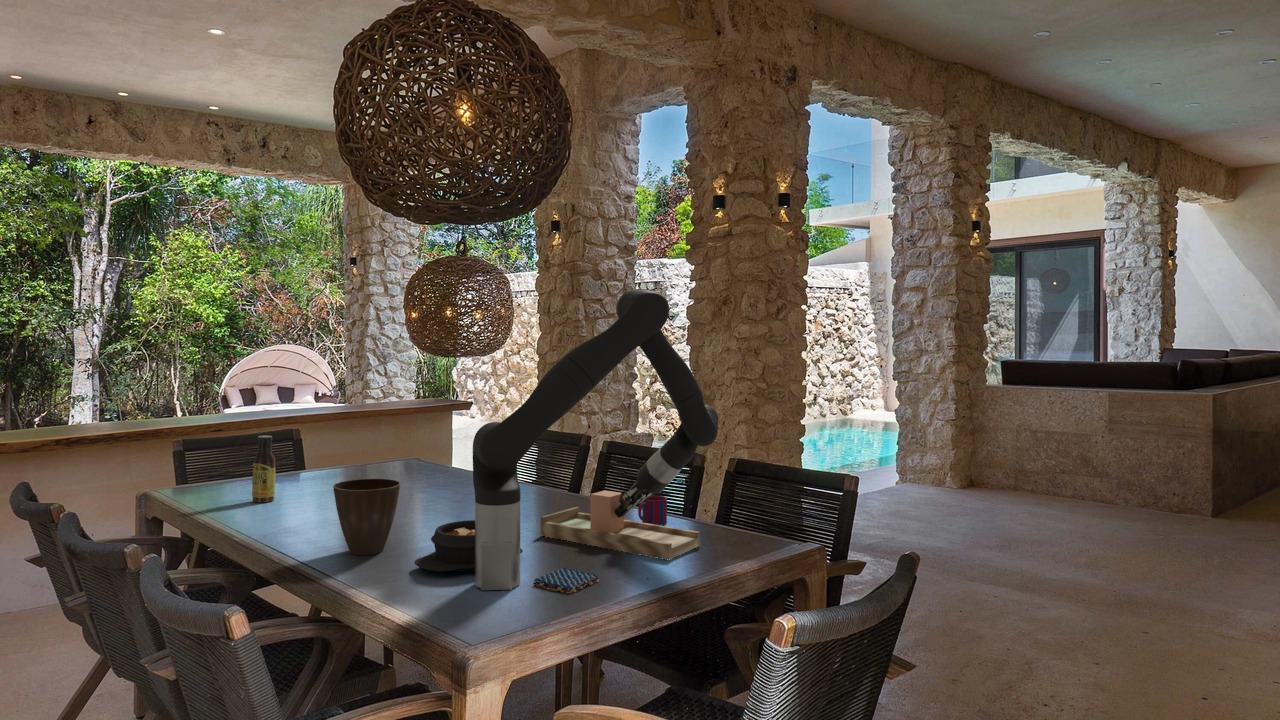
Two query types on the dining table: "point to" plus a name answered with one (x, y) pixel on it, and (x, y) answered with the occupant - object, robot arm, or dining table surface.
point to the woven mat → (565, 580)
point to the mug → (653, 510)
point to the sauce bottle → (264, 472)
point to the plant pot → (366, 512)
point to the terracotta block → (605, 512)
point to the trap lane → (620, 535)
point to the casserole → (452, 548)
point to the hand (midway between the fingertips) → (618, 514)
